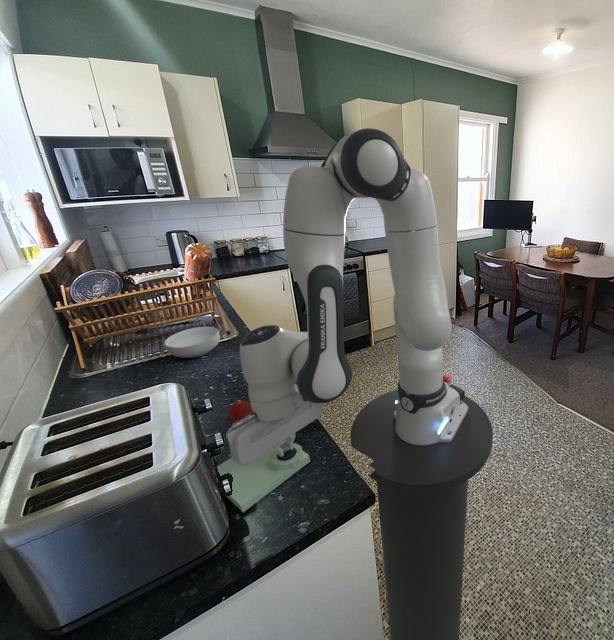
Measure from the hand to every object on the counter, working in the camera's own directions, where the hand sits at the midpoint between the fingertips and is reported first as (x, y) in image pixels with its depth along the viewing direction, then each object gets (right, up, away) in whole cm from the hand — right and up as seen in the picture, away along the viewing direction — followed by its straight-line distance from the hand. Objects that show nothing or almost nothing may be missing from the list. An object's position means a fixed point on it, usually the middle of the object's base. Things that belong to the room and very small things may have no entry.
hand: (285, 452), depth 77 cm
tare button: (0, -2, +1) cm, 2 cm away
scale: (-6, -4, 0) cm, 7 cm away
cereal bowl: (-54, +17, +51) cm, 76 cm away
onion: (-17, +2, +15) cm, 22 cm away
